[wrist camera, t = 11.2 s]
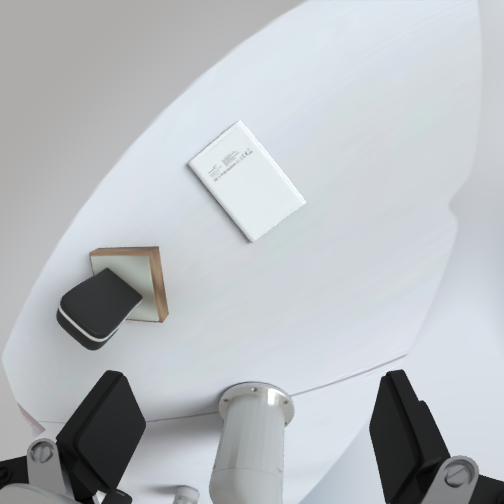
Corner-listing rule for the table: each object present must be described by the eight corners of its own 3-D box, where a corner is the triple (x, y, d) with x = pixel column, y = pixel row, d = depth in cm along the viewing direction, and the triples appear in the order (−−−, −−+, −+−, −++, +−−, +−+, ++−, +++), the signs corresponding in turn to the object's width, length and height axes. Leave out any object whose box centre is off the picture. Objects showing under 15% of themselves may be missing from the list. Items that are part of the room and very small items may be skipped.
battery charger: (97, 284, 37) (47, 320, 26) (106, 264, 36) (54, 298, 25) (134, 315, 38) (92, 361, 27) (146, 296, 37) (102, 341, 26)
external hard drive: (252, 240, 37) (190, 163, 35) (305, 200, 35) (241, 121, 33) (251, 243, 35) (186, 163, 33) (306, 202, 33) (239, 119, 31)
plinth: (168, 314, 41) (161, 324, 38) (111, 310, 42) (102, 318, 39) (158, 246, 38) (149, 252, 35) (99, 248, 39) (87, 253, 36)
